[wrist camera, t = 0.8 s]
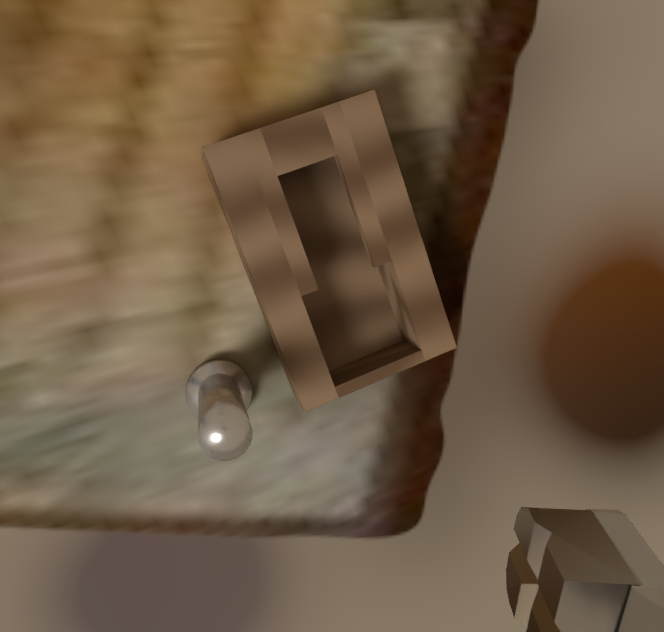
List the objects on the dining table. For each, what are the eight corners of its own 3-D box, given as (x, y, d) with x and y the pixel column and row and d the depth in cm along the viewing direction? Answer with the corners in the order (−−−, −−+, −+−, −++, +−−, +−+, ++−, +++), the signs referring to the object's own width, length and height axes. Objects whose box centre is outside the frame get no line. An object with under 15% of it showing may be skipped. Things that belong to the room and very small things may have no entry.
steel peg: (175, 373, 50) (170, 415, 38) (237, 349, 51) (249, 382, 39) (200, 431, 51) (202, 488, 40) (259, 406, 52) (278, 454, 41)
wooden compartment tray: (430, 336, 55) (456, 347, 50) (293, 394, 53) (305, 412, 47) (355, 105, 50) (374, 89, 45) (201, 157, 48) (202, 147, 43)
